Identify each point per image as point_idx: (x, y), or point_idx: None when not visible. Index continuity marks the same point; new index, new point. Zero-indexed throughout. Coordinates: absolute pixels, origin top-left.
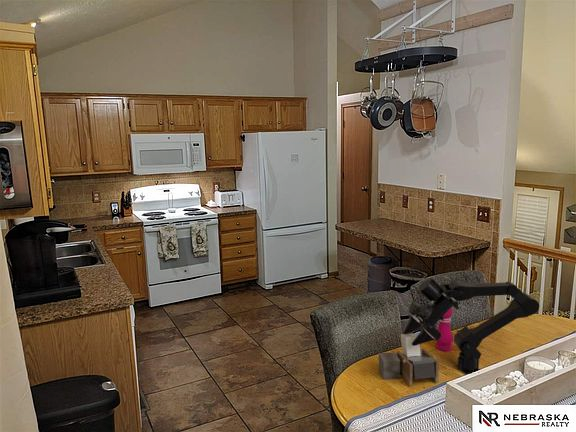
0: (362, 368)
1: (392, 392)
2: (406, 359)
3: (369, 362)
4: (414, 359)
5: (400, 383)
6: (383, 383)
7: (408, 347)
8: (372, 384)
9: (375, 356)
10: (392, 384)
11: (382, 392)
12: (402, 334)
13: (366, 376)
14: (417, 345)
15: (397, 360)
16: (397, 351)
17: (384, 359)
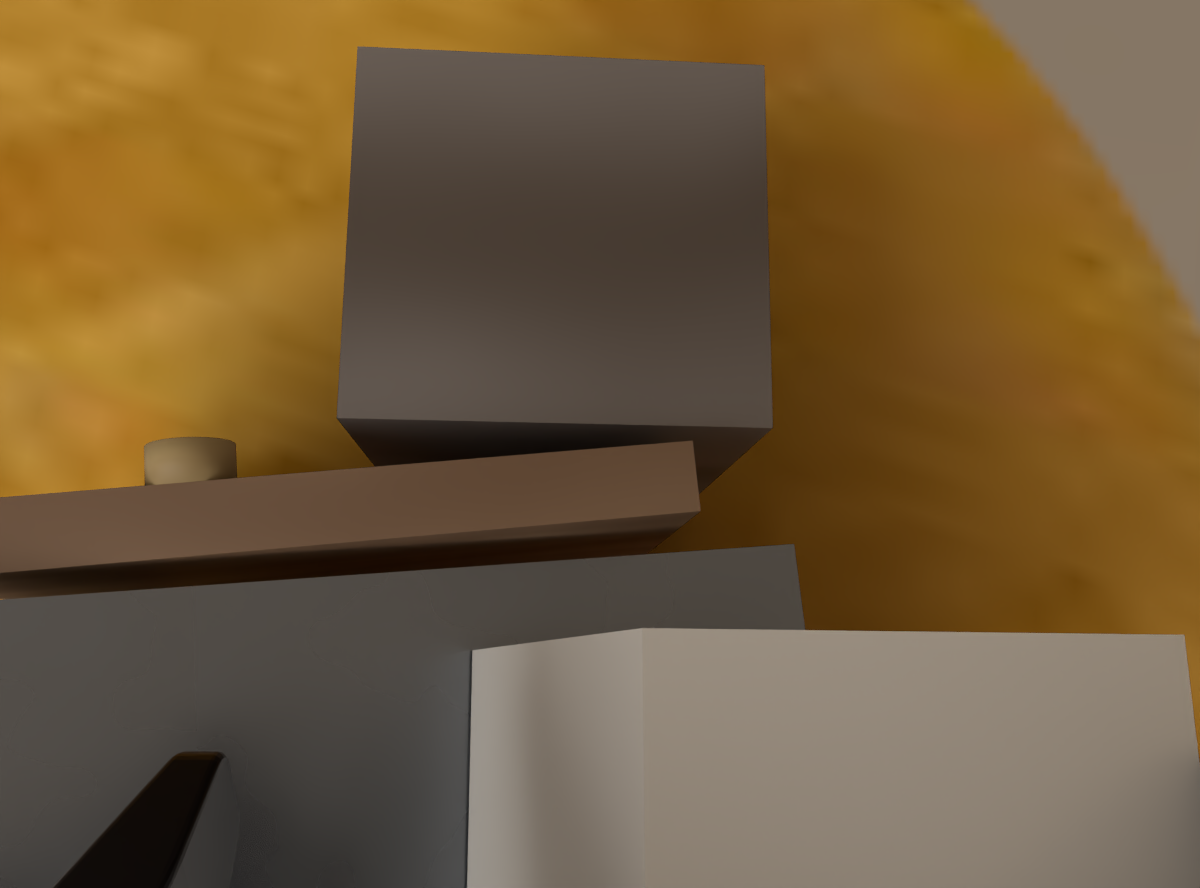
0: (796, 14)
1: (6, 237)
2: (202, 532)
3: (980, 169)
4: (120, 737)
5: (242, 448)
6: (294, 187)
7: (529, 712)
8: (297, 23)
9: (1182, 322)
10: (237, 312)
11: (42, 95)
12: (1163, 693)
13: (545, 5)
14: None
15: (349, 358)
16: (681, 453)
17: (447, 92)
